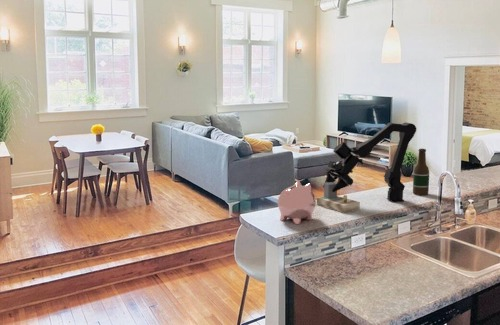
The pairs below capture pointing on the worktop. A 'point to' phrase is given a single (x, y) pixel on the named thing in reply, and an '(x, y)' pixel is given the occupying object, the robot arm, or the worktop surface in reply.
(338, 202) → the stand
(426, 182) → the beer bottle
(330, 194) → the grey block
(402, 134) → the robot arm
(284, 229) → the worktop surface
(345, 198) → the brass pin
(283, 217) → the piggy bank
